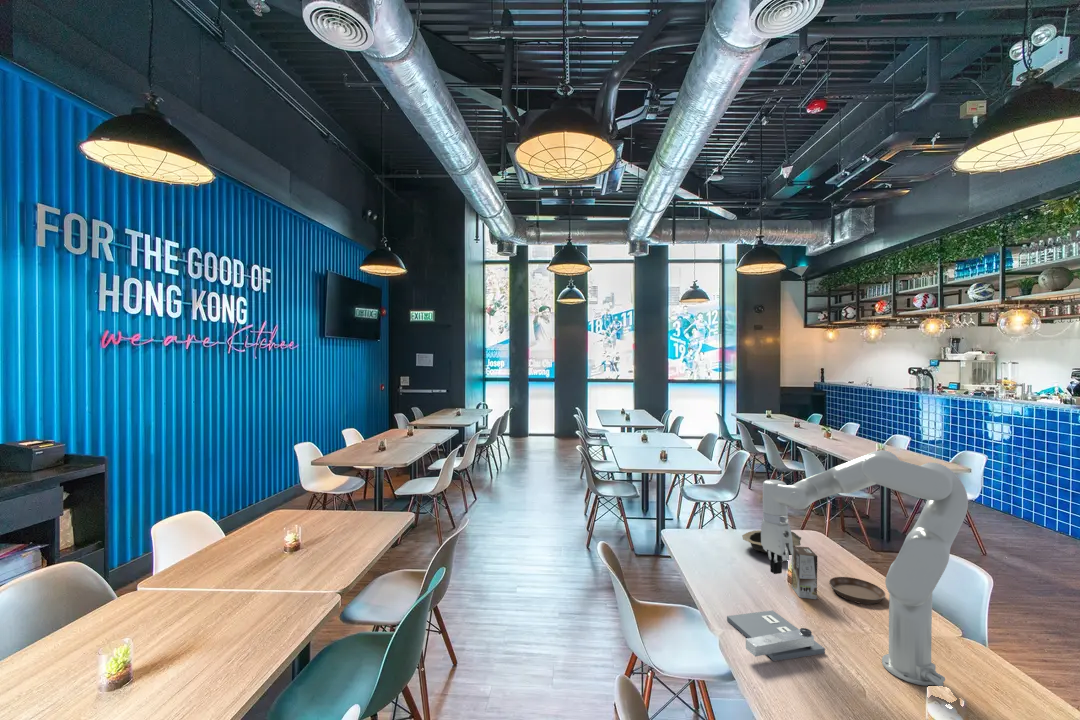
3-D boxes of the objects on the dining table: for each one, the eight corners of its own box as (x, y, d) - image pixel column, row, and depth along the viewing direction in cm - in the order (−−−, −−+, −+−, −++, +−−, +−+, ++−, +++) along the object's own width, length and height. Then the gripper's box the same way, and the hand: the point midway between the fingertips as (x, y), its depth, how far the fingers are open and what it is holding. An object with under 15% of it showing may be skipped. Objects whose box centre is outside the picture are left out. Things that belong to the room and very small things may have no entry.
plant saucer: (849, 607, 168) (849, 598, 168) (819, 583, 186) (819, 576, 186) (897, 607, 168) (897, 599, 168) (862, 584, 186) (863, 576, 186)
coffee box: (817, 599, 172) (818, 556, 172) (798, 597, 174) (799, 554, 174) (808, 588, 181) (809, 546, 181) (790, 586, 183) (791, 545, 183)
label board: (824, 653, 140) (824, 647, 140) (773, 661, 136) (773, 654, 136) (772, 614, 162) (772, 609, 162) (726, 620, 157) (727, 615, 157)
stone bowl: (814, 563, 204) (813, 542, 204) (757, 567, 204) (756, 546, 204) (785, 541, 228) (784, 522, 228) (734, 544, 229) (733, 525, 228)
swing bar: (804, 640, 143) (804, 626, 143) (815, 648, 139) (815, 633, 139) (745, 651, 137) (745, 636, 137) (755, 660, 134) (755, 644, 134)
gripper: (802, 523, 151) (803, 581, 150) (768, 510, 165) (769, 562, 165) (782, 525, 149) (783, 583, 148) (750, 512, 163) (751, 565, 163)
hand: (776, 572), depth 157 cm, fingers closed
